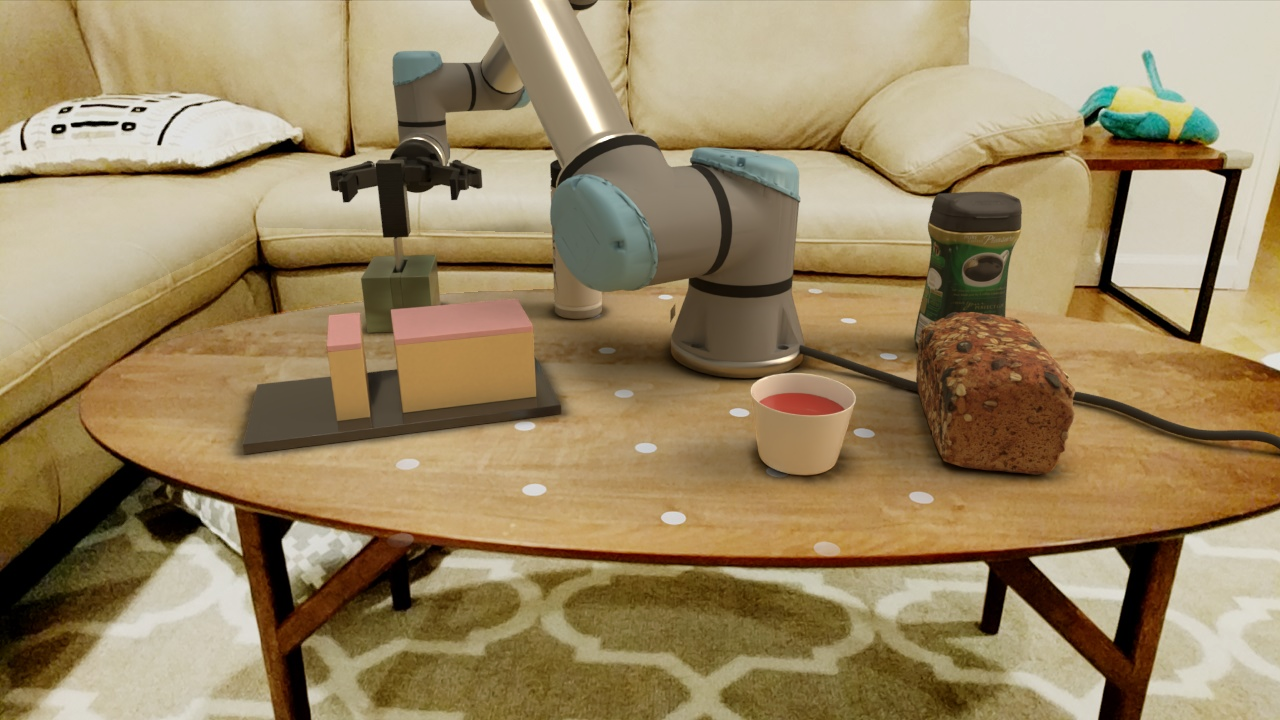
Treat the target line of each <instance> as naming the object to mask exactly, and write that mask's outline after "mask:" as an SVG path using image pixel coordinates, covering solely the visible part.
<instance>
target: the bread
mask: <svg viewBox="0 0 1280 720" xmlns="http://www.w3.org/2000/svg"><path fill="white" fill-rule="evenodd" d="M917 347H918V349H917V350H918V352H917V357H916V379H915V382H917V383H918V392H917V393H918V394H919V395H918V396H919V398H920V402H921V405H922V409H923V412H924V415H925V416H926V417H925V418H926V421H927V423H928V424H927V425H928V426H929V430H930V431H931V433H932V434H931V436H932V439H933V441H934V444H935V447H936V449H937V451H938V454H939V455H940V457H941V458H942V461H943V462H945V463H949V464H951V465H954V466H958V467H962V468H965V469H976V470H982V471H983V470H984V471H999V472H1007V473H1016V474H1017V473H1020V474H1027V475H1036V476H1037V475H1043V474H1049V473H1050V472H1052V471H1053V470H1054V469H1055V468H1056V467H1057V465H1058V463H1060V455H1061V454H1062V453H1064V452H1065V451H1066V441H1067V440H1068V439H1069V431H1070V429H1071V427H1072V425H1073V422H1074V418H1075V409H1074V406H1073V404H1074V402H1075V401H1074V400H1073V397H1074V394H1075V391H1076V387H1075V386H1074V385H1073V384H1072V383H1071V382H1070V380H1069V378H1070V376H1069V374H1068V373H1067V372H1065V371H1064V370H1063V369H1062V366H1061V364H1060V363H1058V361H1057V360H1056V359H1055V357H1053V356H1052V354H1051V353H1050V352H1049V351H1048V350H1047V349H1046V348H1045V347H1044V346H1043V345H1042V343H1041V342H1040V341H1039V339H1037V337H1036V334H1035V333H1033V332H1032V330H1031V329H1030V327H1029V326H1028V325H1027V324H1025V323H1024V322H1021V321H1020V320H1019V319H1017V318H1013V317H1006V316H1005V317H1002V316H998V315H993V314H981V313H974V312H969V313H966V312H962V313H957V312H953V313H950V314H948V315H947V316H946V317H945V318H942V319H940V320H937V321H935V322H931V323H929V325H927V326H925V327H924V328H923V329H922V331H921V334H920V338H919V342H918V345H917Z"/></svg>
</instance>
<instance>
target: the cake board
mask: <svg viewBox="0 0 1280 720" xmlns="http://www.w3.org/2000/svg"><path fill="white" fill-rule="evenodd" d="M534 359H535V381H536V397H531V398H522V399H514V400H506V401H498V402H489V403H481V404H473V405H465V406H456V407H448V408H440V409H432V410H423V411H415V412H407V413H403V411H402V403H401V396H400V388H399V381H398V372H397V368H396V369H387V370H378V371H370V372H368V371H367V374H368V383H369V402H370V417H367V418H359V419H350V420H342V421H337V416H336V409H335V402H334V395H333V388H332V381H331V375H330V376H321V377H313V378H312V377H311V378H304V379H294V380H285V381H275V382H266V383H257V384H256V389H255V392H254V396H253V401H252V404H251V409H250V413H249V416H248V421H247V426H246V430H245V433H244V437H243V442H242V450H243V454H244V455H250V454H257V453H258V454H259V453H266V452H274V451H281V450H289V449H298V448H304V447H312V446H313V447H314V446H320V445H328V444H335V443H344V442H345V443H346V442H351V441H359V440H368V439H377V438H384V437H390V436H391V437H392V436H398V435H406V434H414V433H415V434H416V433H422V432H431V431H438V430H445V429H452V428H453V429H454V428H461V427H467V426H476V425H484V424H493V423H500V422H501V423H502V422H508V421H516V420H523V419H530V418H539V417H547V416H555V415H562V403H561V402H560V399H558V396H557V394H556V392H555V391H554V389H553V387H552V385H551V383H550V382H549V379H548V378H547V376H546V374H545V372H544V370H543V368H542V366H541V364H540V362H539V361H538V359H537V356H536V355H535V354H534Z"/></svg>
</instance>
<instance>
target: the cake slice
mask: <svg viewBox="0 0 1280 720" xmlns="http://www.w3.org/2000/svg"><path fill="white" fill-rule="evenodd" d="M326 351H327V358H328V365H329V366H328V367H329V372H330V376H331V381H332V388H333V395H334V402H335V409H336V416H337V421H342V420H350V419H359V418H367V417H370V402H369V383H368V374H367V373H368V366H367V358H366V350H365V343H364V334H363V326H362V319H361V312H350V313H338V314H329V315H328V321H327V335H326Z"/></svg>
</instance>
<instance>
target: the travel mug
mask: <svg viewBox="0 0 1280 720" xmlns="http://www.w3.org/2000/svg"><path fill="white" fill-rule="evenodd" d="M549 168H550V169H549V170H550V173H549V174H550V190H551V191H550V202H551V201H552V198H553V195H554V193H555V191H556V181H557V178H558V175H559V173H560V171H561V170H562V168H561V165H560V163H559V161H558V159H557V158H556V159H555V160H553V161H551V162H550V165H549ZM554 234H555V229H554V227H553V226H552V225H551V236H552V237H551V239H552V240H551V243H552V271H553V273H552V274H553V299H554V304H553V305H554V313H555V315H557V316H559V317H560V318H564V319H568V320H569V319H571V320H587V319H591V318H594V317H597V316H599V315H600V314H601V313H602V312H603V292H600V291H597V290H594V289H590V288H588V287H586V286H585V285H583V284H582V283H580V282H579V281H578V280H577V279H576V278H575V277H574V276H573V275H572V274H571V273H570V271H569V270H568V268H567V267H566V265H565V264H564V262H563V260H562V259H561V257H560V254H559V252H558V250H557V247H556V244H555V241H554V237H553V235H554Z"/></svg>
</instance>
